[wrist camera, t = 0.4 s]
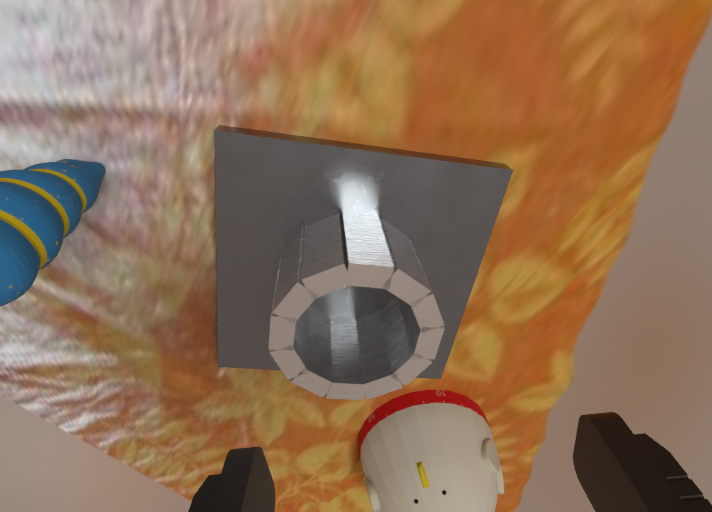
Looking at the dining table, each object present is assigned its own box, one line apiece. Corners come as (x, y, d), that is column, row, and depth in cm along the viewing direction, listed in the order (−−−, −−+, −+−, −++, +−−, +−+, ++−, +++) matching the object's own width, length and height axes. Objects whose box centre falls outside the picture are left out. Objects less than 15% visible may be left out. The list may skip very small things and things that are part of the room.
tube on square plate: (219, 125, 27) (181, 163, 19) (504, 163, 30) (565, 209, 22) (221, 354, 36) (196, 438, 29) (436, 367, 39) (464, 446, 32)
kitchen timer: (467, 371, 40) (539, 539, 27) (498, 450, 47) (568, 615, 34) (337, 417, 42) (346, 595, 29) (385, 487, 48) (409, 657, 35)
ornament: (155, 182, 28) (14, 315, 15) (98, 217, 29) (-79, 371, 16) (97, 114, 26) (-128, 204, 13) (37, 155, 27) (-229, 277, 14)
